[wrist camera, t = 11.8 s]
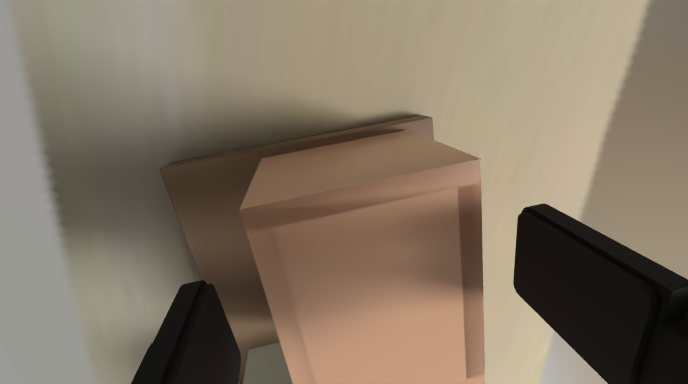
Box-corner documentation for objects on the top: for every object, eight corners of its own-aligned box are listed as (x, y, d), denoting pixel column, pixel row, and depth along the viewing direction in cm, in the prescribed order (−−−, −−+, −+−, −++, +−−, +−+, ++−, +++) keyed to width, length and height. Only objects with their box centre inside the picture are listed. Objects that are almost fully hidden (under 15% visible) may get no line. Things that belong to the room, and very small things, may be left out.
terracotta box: (261, 158, 14) (239, 209, 8) (407, 129, 14) (480, 158, 9) (303, 318, 17) (308, 436, 11) (422, 289, 17) (484, 387, 12)
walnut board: (170, 163, 14) (159, 169, 13) (422, 115, 15) (432, 117, 14) (294, 505, 23) (294, 526, 22) (448, 460, 24) (456, 478, 23)
